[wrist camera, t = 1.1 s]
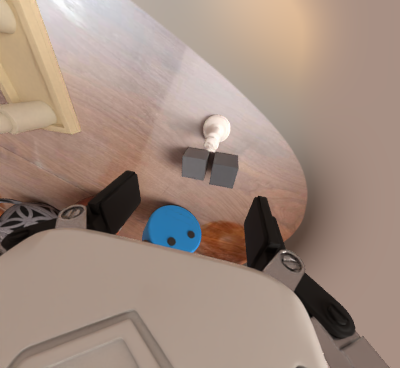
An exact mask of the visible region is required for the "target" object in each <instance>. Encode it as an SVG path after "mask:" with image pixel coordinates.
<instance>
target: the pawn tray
mask: <svg viewBox="0 0 400 368" xmlns="http://www.w3.org/2000/svg"><path fill="white" fill-rule="evenodd" d="M0 90H1V92H2V93H3V95H4V97H5V99H6V100H7V102H8V104H0V134H4V133H10V134H19V133H23V132H27V131H31V130H35V129H43V130H49V131H54V132H60V133H66V134H71V135H72V134H75V133H78V132H81V129H80V126H79V123H78V120H77V117H76V114H75V111H74V108H73V106H72V103H71V100H70V97H69V94H68V91H67V88H66V86H65V83H64V80H63V77H62V74H61V71H60V68H59V65H58V63H57V60H56V57H55V54H54V51H53V48H52V45H51V43H50V40H49V37H48V34H47V31H46V28H45V25H44V23H43V20H42V17H41V14H40V11H39V8H38V5H37V2H36V0H0Z"/></svg>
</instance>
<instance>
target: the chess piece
mask: <svg viewBox="0 0 400 368" xmlns="http://www.w3.org/2000/svg"><path fill="white" fill-rule="evenodd" d="M203 133H204V136H205V138H206V140H205V142H204V146H205V148H206V149H207V151H209V152H210V151H213V152H214V153H215V151H216V149H217V148H218V145H219V144H218V143H221V142H223V141H224V140H225V139H226V138H227V137H228V135H229V133H230V124H229V122H228V120H227V119H226V118H225V117H223V116H221V115H212V116H210V117H209V118H208V119H207V120H206V121H205V123H204V126H203Z"/></svg>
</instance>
